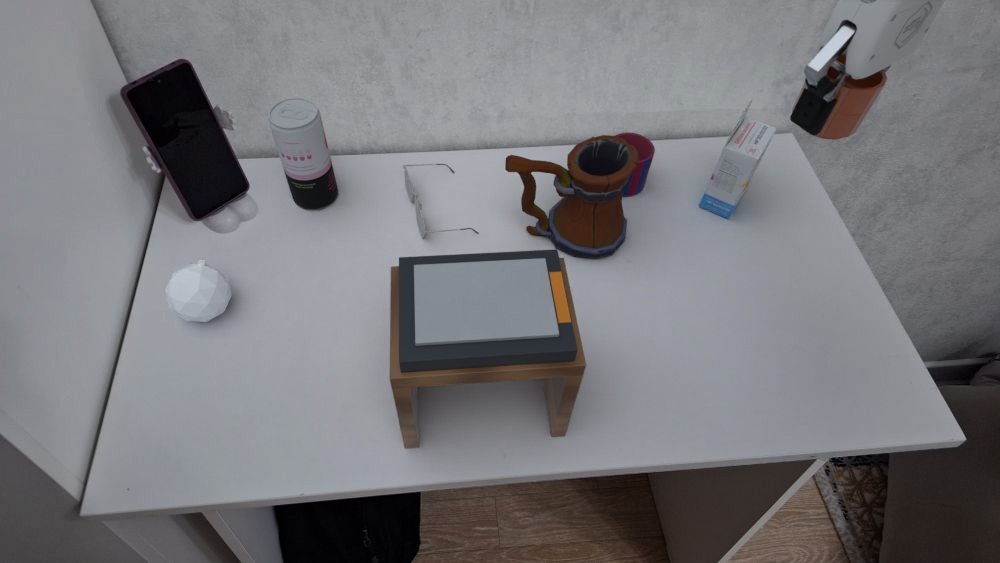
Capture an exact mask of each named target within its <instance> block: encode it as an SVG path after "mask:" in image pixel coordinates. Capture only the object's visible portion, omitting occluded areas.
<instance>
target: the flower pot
mask: <svg viewBox="0 0 1000 563" xmlns="http://www.w3.org/2000/svg"><path fill="white" fill-rule="evenodd" d="M837 61H839V62H841V63H842V64H844V65H846V57H844V56H843V55H840V56H839V57H838V59H837ZM839 75H840V72H839V71H837V70H835V69H834V68H832V67H829V69H828V71H827V77H828V78H830V80H831V84H833V83H834V81H835V80H836V79H837V77H838V76H839ZM887 81H888V76H887V74H886V72H885V71H884V70H883V69H882V70H880V71H878V72H876V73H874V74H872V75H870V76H868V77H865V78H862V79H857V80H856V79H853V78H852V76H850V78H849V79H848V80H847V82H846V83H845V84H844V86H843V87H842V88H841V90H840V91H839V92H838V94H837V95H836V96H835V99H836V100H838V101H837V103H836V105H835V107H834V108H833V110H832V112H831V114H830V116H829V117H828V119H827V121H826V123H825V125H824V126H823V128H822V130H821V132H820V133H819V134H817V135H812V136H813V137H817V138H818V139H819V138H820V139H822V140H823V139H824V140H834V141H835V140H840V139H844V138H849V137H851V136H853V135H854V134H856V133H857V131H858V130H859V129H860V126H861V125H862V123H863V122H864V120H865V118H866V117H867V115H868V114H869V111H870V110H871V108H872V107H873V105H874V103H875V102H876V100H877V98H878V97H879V95H880V94H881V92H882V90H883V89H884V87H885V85H886V83H887ZM803 90H804V85H803V86H802V88H801V90H800V91H799V94H798V96H797V98H796V100H795V102H794V104H793V106H792V108H791V113H792V112H793V110H794V108H795V106H796V104H797V102H798V100H799V98H800V96H801V94H802V92H803ZM799 128H800V129H802V128H801V127H799ZM802 130H803V131H804V132H805V133H807V134H809V135H811V134H810V133H808V132H807V131H805V130H804V129H802Z"/></svg>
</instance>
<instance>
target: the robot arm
mask: <svg viewBox="0 0 1000 563" xmlns="http://www.w3.org/2000/svg"><path fill="white" fill-rule="evenodd" d="M945 1H946V0H838V1H837V3H836V5H835V8H834V9H833V11H832V13H831V15H830V17H829V20H828V21H827V23H826V25H825V26H824V29H823V31H822V34H821V36H820V38H819V41H818V43H817V46H816V49H815V55H814V57H812V59H811V60H810V61H809V62H808V63H807V64H806V66H805V67H804V70H803V72H804V76H805V79H804V84H803V86H804V90H803V92H802V94H801V96H800V98H799V100H798V102H797V104H796V106H795V108H794V110H793V112H792V111H791V114H790V116H789V120H790V121H791V122H792V123H793V124H795V125H796V126H798V127H799V128H800V127H801V128H800V129H801V130H803V129H804V130H805V131H804V130H803V131H804V132H806V131H807V132H808V133H807V132H806V133H807V134H809V133H810V134H809V135H811V136H813V135H817V134H819V133H820V132H821V130H822V128H823V126H824V125H825V123H826V121H827V119H828V117H829V116H830V114H831V112H832V110H833V108H834V107H835V105H836V103H837V101H838V100H836V99H835V96H836V95H837V94H838V92H839V91H840V90H841V88H842V87H843V86H844V84H845V83H846V82H847V80H848V79H849V78H850V76H852V78H853V79H856V80H857V79H862V78H865V77H868V76H870V75H872V74H874V73H876V72H878V71H880V70H882V69H883V70H884V71H885V73H887V71H889V70H890V68H891V67H892V65H894V64H895V63H896V64H897V62H900V61H901V60H903V59H905V58H907V57H908V56H910V55H911V54H912V53H914V52H915V51H916V50H917V49H918V48H919V47H920V44H921V43H922V41H923V40H924V38H925V37H926V34H927V33H928V31H929V30H930V28H931V26H932V24H933V22H934V21H935V18H936V17H937V15H938V14H939V12H940V10H941V8H942V7H943V5H944V4H945ZM840 55H843V56H844V57H846V65H844V64H842V63H841V62H839V61H837V59H838V57H839V56H840ZM829 67H832V68H834V69H835V70H837V71H839V72H840V75H839V76H838V77H837V79H836V80H835V81H834V83H833V84H831V80H830V78H828V77H827V71H828V69H829Z"/></svg>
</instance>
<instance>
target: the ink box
mask: <svg viewBox="0 0 1000 563" xmlns="http://www.w3.org/2000/svg"><path fill="white" fill-rule="evenodd" d="M753 101H754V99H753V98H752V99H750V101H749V102H748V104H747V105H746V107H745V108H744V109H743V111H742V113H741V115H740V116H739V118H738V119H737V120H736V122H735V124H734V125H733V127H732V129H731V131H730V133H729V136H728V137H727V139H726V141H725V144H724V146H723V148H722V150H721V153H720V155H719V157H718V159H717V162H716V164H715V167H714V169H713V171H712V174H711V176H710V179H709V181H708V183H707V186H706V189H705V191H704V193H703V195H702V197H701V200H700V202H699V204H698V207H699V208H701V209H704V210H706V211H709V212H711V213H713V214H716V215H718V216H721V217H723V218H725V219H726V220H729V219H730V217H731V216H732V214H733V212H734V210H735V209H736V207H737V205H738V204H739V202H740V200H741V199H742V197H743V196H744V195H745V193H746V191H747V189H748V187H749V185H750V183H751V181H752V178H753V177H754V175H755V173H756V171H757V169H758V167H759V164H760V163H761V161H762V159H763V157H764V156H765V153H766V152H767V149H768V147H769V145H770V143H771V141H772V140H773V138H774V135H775V133H776V131H777V127H775V126H772V125H770V124H766V123H765V122H762V121H759V120H757V119H754V118H752V117H749V116H747V114H748V111H749V109H750V107H751V105H752V103H753Z"/></svg>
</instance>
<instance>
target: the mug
mask: <svg viewBox="0 0 1000 563" xmlns="http://www.w3.org/2000/svg"><path fill="white" fill-rule="evenodd" d="M639 155H640V154H639V152H638V151H637V149H636V148H635V146H633V145H630V144H629V143H628V142H627V140H624V139H622V138H620V137H618V136H615V135H607V134H602V135H598V136H592V137H589V138H587V139H585V140H584V141H581V142H579V143H577V144H576V145H575V146H573V148H572V149H571V150H570V151H569V153H567V158H566V159H567V160H566V161H567V162H566V166H567V168H566V167H564V166H562V165H561V164H558V163H555V162H552V161H547V160H539V159H530V158H527V157H523V156H519V155H515V154H510V155H507V156H506V157H505V165H504V166H505V168H504V169H505V171H506V172H507V173H517V174H518V175H519V177H520V180H521V182H522V185H523V191H522V195H521V199H520V206H521V209H522V212H523V213H524V214H526V215H528V216H530V217H533V218H535V219H536V220H537V221H536V222H535V225H534V226H533V225H527V226H526V227H525V230H526V232H527V233H528V234H529V235H531V236H541V235H543V236H545V237H549V238H550V240H551V242H552V243H553V245H554V248H556V249H557V250H560V251H562V252H564V253H566V254H569V255H570V256H573V257H575V258H588V259H598V258H599V259H600V258H603V257H610V256H613V254H614V253H615V252H617V250H618V249H619V248H620V247H621V246H622V245H623V244H624V242H625V241H626V237H627V228H628V219H627V218H626V217H625V213H624V208H623V202H622V201H623V197H624V196H623V191H624V190H625V188H626V187H627V186H628V185H629V177H630V176H631V174H632V173H633V172H634V170H635V169H636V168H637V165H638V164H639ZM532 173H543V174H550V175H555V176H554V177H553V178H554V179H553V187H555V191H556V193H557V195H558V196H559V197H561V198H560V200H559V201H557V202H556V204H554V205H553V206H552V207H551V208H550V209H549V212H548V215H547V213H546V212H545V211H544V210H543V209H542V208H541V207H540V206H538V205H537V204H535V200H536V194H537V182H536V179H535V177H534V175H533V174H532Z"/></svg>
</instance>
